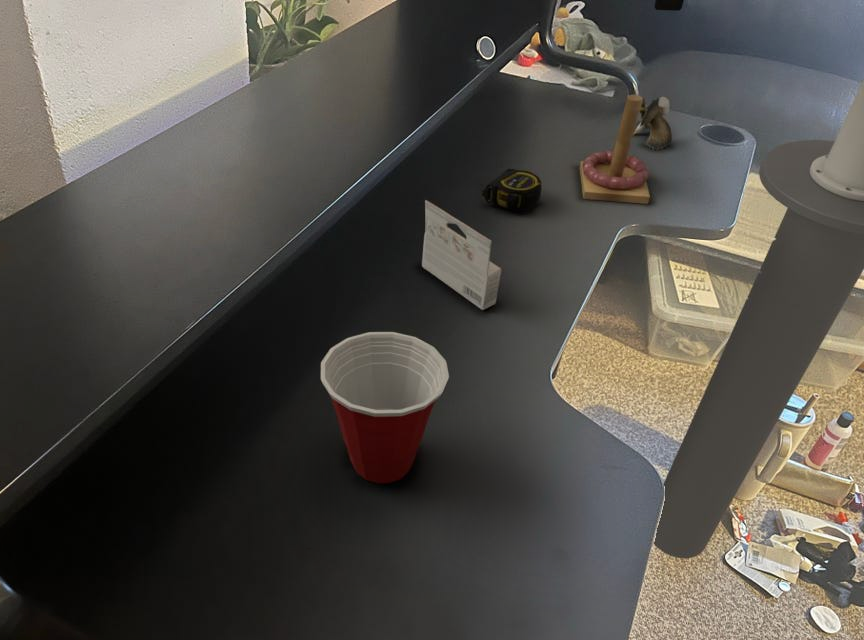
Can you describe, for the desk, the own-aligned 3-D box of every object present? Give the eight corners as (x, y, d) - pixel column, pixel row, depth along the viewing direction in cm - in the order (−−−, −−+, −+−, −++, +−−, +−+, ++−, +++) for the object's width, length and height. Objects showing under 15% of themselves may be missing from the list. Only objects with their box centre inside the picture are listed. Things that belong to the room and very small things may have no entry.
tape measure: (505, 185, 107) (509, 161, 104) (547, 201, 104) (551, 177, 101) (480, 204, 103) (483, 180, 100) (523, 221, 100) (527, 197, 97)
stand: (640, 172, 110) (664, 86, 101) (647, 204, 104) (674, 114, 95) (579, 168, 111) (598, 81, 102) (583, 199, 104) (603, 109, 95)
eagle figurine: (611, 116, 121) (628, 132, 114) (642, 79, 118) (661, 91, 111) (645, 142, 124) (663, 158, 116) (676, 105, 121) (697, 120, 113)
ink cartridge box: (434, 260, 93) (440, 192, 86) (497, 304, 87) (508, 234, 80) (419, 267, 92) (424, 198, 85) (482, 312, 86) (492, 242, 79)
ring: (641, 161, 110) (644, 151, 109) (650, 193, 104) (653, 183, 102) (579, 157, 111) (581, 147, 110) (584, 188, 104) (586, 178, 103)
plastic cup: (444, 422, 73) (454, 330, 65) (434, 512, 65) (444, 421, 57) (336, 409, 74) (332, 318, 66) (314, 497, 66) (306, 405, 58)
